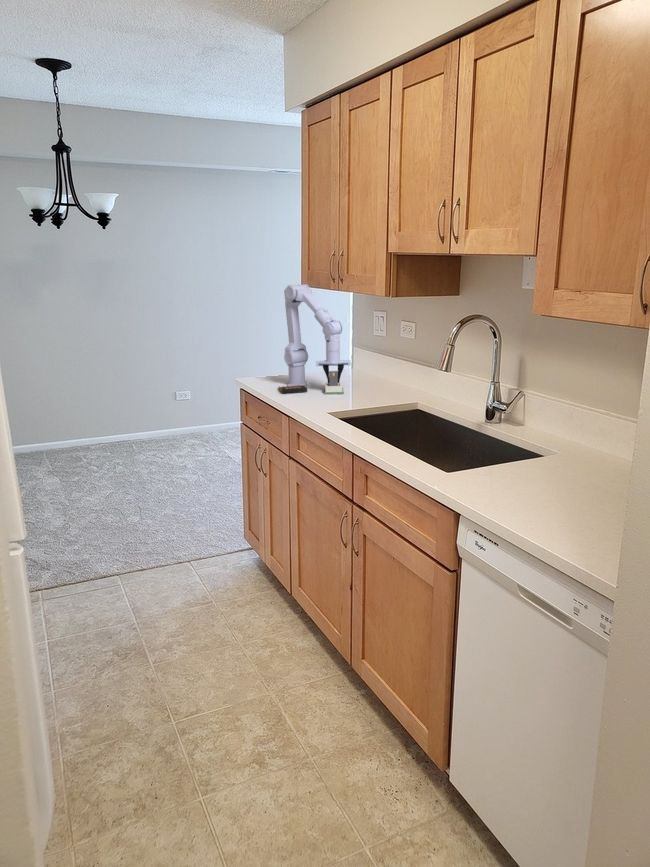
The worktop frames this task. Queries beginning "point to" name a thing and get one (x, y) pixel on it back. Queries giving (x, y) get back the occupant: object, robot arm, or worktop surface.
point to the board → (333, 389)
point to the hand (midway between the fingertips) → (333, 382)
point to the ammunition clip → (293, 389)
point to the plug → (333, 378)
